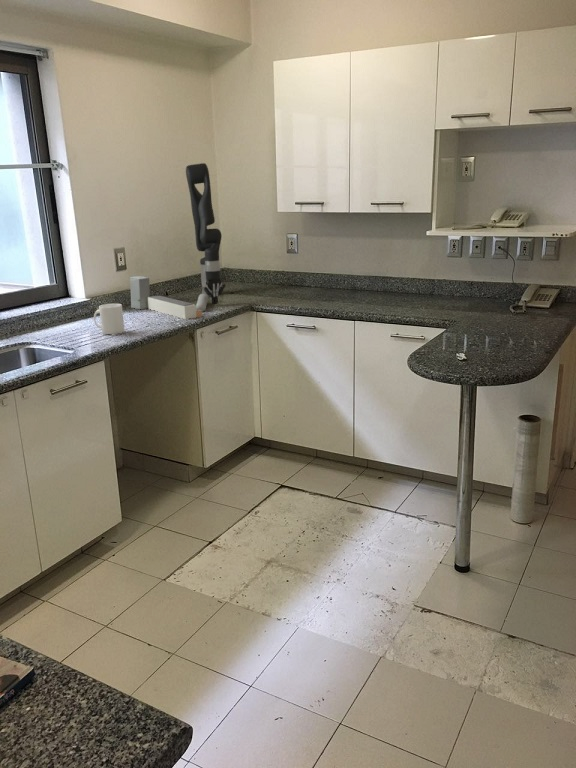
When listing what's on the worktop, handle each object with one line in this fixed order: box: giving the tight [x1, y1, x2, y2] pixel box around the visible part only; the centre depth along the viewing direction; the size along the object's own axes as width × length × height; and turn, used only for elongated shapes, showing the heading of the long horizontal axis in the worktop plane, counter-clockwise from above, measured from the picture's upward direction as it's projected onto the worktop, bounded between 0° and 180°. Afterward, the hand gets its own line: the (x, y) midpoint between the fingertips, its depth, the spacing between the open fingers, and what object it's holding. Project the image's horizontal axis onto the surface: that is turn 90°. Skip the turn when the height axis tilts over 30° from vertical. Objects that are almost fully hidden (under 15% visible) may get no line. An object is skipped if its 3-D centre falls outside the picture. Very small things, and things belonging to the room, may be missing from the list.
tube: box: [195, 293, 209, 313], centre depth 327 cm, size 5×5×25 cm
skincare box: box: [129, 275, 151, 310], centre depth 329 cm, size 8×7×16 cm
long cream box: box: [148, 294, 203, 320], centre depth 316 cm, size 9×36×6 cm, turn 39°
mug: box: [93, 303, 125, 335], centre depth 278 cm, size 10×12×12 cm
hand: (214, 303), depth 331 cm, fingers closed
